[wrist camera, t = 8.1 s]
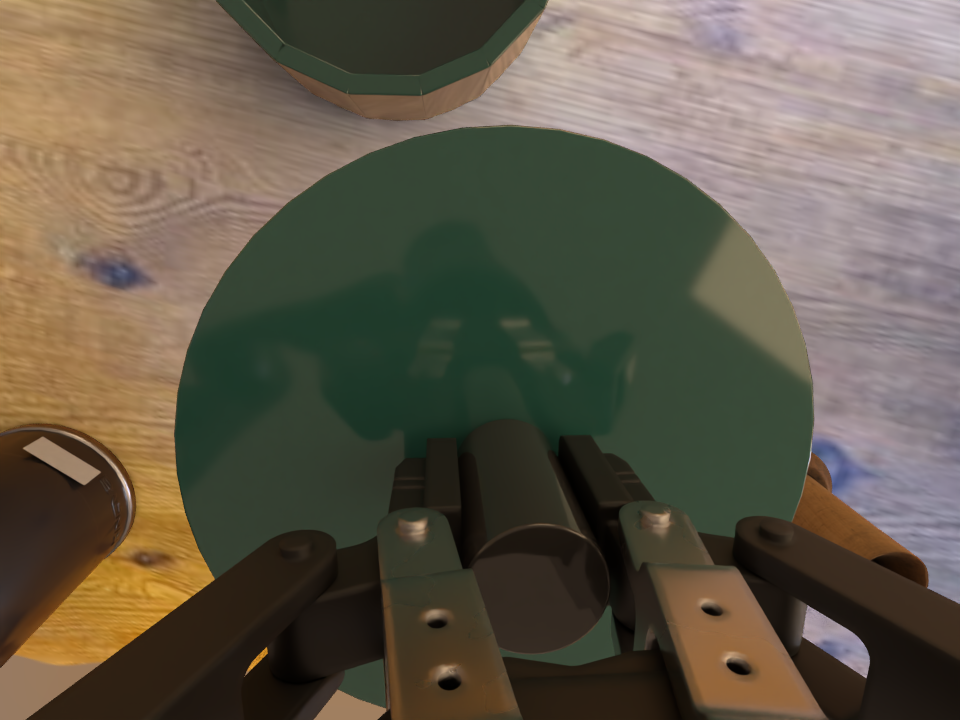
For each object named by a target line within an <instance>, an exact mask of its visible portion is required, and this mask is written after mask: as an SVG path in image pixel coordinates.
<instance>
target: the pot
mask: <svg viewBox="0 0 960 720" xmlns="http://www.w3.org/2000/svg"><path fill="white" fill-rule="evenodd" d="M216 2H217V3H218V4H219V5H220V6H221V7H222V8H223V9H224V10H225V11H226V12H227V13H228V14H229V15H230V16H231V17H232V18H233V19H234V20H235V21H236V22H237V23H238V24H239V25H240V26H241V27H242V28H243V29H244V30H245V31H246V32H247V33H248V34H249V36H250V37H251V38H252V39H253V40H254V41H255V42H256V43H257V44H258V45H259V46H260V47H261V48H262V49H263V50H264V51H265V52H266V53H267V54H268V55H269V56H270V57H271V58H272V59H273V60H274V61H275V62H276V63H278V64H279V65H280V66H281V67H282V68H283V69H284V70H286V71H287V72H288V73H289V74H290V75H291V76H292V77H294V78H295V79H296V80H297V81H298V82H299V83H300V84H302V85H303V86H304V87H305V88H306V89H307V90H308V91H310V92H311V93H312V94H314V95H316V96H318V97H320V98H323V99H325V100H327V101H329V102H331V103H333V104H335V105H337V106H339V107H341V108H343V109H346V110H348V111H351V112H354V113H356V114H358V115H360V116H362V117H365V118H368V119H383V120H394V121H403V120H426V119H429V118H432V117H434V116H437V115H440V114H443V113H446V112H449V111H452V110H454V109H456V108H458V107H460V106H462V105H464V104H466V103H468V102H469V101H472V100H474V99H476V98H478V97H479V96H481V95H482V94H483V93H484V92H485V91H486V90H487V89H488V88H489V87H490V86H491V85H492V84H493V83H494V82H495V81H496V80H497V79H498V78H499V77H500V76H501V75H502V74H503V72H504V71H505V70H506V69H507V68H508V67H509V66H510V65H511V63H512V62H513V61H514V60H515V59H516V58H517V57H518V56H519V55H520V54H521V52H522V51H523V49H524V47H525V45H526V43H527V41H528V40H529V38H530V36H531V34H532V32H533V30H534V28H535V26H536V25H537V23H538V21H539V19H540V17H541V15H542V13H543V12H544V10H545V8H546V5H547V3H548V0H216Z"/></svg>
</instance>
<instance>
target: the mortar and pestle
mask: <svg viewBox="0 0 960 720" xmlns="http://www.w3.org/2000/svg"><path fill="white" fill-rule="evenodd" d="M792 523H794V524H796V525H798V526H800V527H802V528H804V529H806V530H809V531H811V532H813V533H815V534H817V535H819V536H821V537H823V538H825V539H827V540H829V541H831V542H833V543H835V544H837V545H839V546H841V547H843V548H845V549H848V550H850V551H852V552H854V553H856V554H858V555H860V556H862V557H864V558H866V559H868V560H870V561H872V562H874V563H876V564H878V565H880V566H882V567H884V568H887V569H889V570H891V571H893V572H895V573H897V574H899V575H901V576H903V577H905V578H907V579H909V580H911V581H913V582H915V583H917V584H919V585H921V586H923V587H926V588H927V587H928V582H929V581H928V571H927V568H926V566H925V564H924V563H923V562H922V561H921V560H920V559H919V558H918V557H917V556H915V555H914V554H912V553H911V552H910V551H908V550H907V549H906V548H904V547H903V546H901V545H900V544H899V543H897V542H896V541H895V540H893V539H892V538H890V537H889V536H888V535H886V534H885V533H884V532H882V531H881V530H880V529H878V528H877V527H876V526H874V525H873V524H871V523H870V522H869V521H867V520H866V519H865V518H864V517H862V516H861V515H860V514H858V513H857V512H856V511H854V510H853V509H851V508H850V507H849V506H848V505H846V504H845V503H844V502H842V501H841V500H840V499H838V498H837V497H836V496H835V495H833V494H832V481H831V476H830V473H829V471H828V469H827V467H826V465H825V464H824V463H823V461H822V460H821V459H820V458H819V457H817V456H816V455H815V454H814V453H812V452H811V458H810V463H809V467H808V471H807V476H806V480H805V484H804V489H803V493H802V496H801V499H800V502H799V504H798V507H797V510H796V512H795V515H794V518H793V521H792Z"/></svg>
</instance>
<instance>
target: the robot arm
mask: <svg viewBox="0 0 960 720" xmlns="http://www.w3.org/2000/svg"><path fill="white" fill-rule="evenodd" d="M558 459H559V461H560V463H561V465H562V467H563V470H564V472H565V474H566V476H567V478H568V480H569V482H570V484H571V487H572V489H573V491H574V493H575V495H576V497H577V499H578V501H579V504H580V506H581V508H582V510H583V512H584V514H585V516H586V518H587V521H588V523H589V525H590V527H591V529H592V531H593V533H594V535H595V538H596V540H597V542H598V544H599V546H600V548H601V550H602V552H603V555H604V557H605V559H606V561H607V563H608V567H609V570H610V576H611V591H610V597H609V601H608V604H607V606H611V608H612V616H611V637H612V641H613V646H614V651H615V656H612V657H608V658H605V659H601V660H597V661H594V662H590V663H586V664H583V665H578V666H568V665H561V664H554V663H547V662H541V661H534V660H527V659H521V658H514V657H502V656H501V653H500V650H499V647H498V644H497V641H496V638H495V635H494V632H493V629H492V626H491V623H490V620H489V617H488V614H487V611H486V608H485V605H484V602H483V599H482V596H481V593H480V590H479V587H478V584H477V581H476V578H475V575H474V572H473V570H472V569H471V568H469V569H463V568H462V565H461V562H460V551H461V546H462V535H461V496H460V483H459V470H458V457H457V444H456V438H427V451H426V458H405V459H404V460H403V461H402V462H401V463H400V464H399V465H398V466H397V467H396V468H395V474H394V481H393V486H392V493H391V499H390V505H389V511H388V514H387V515H386V516H384V517H383V518H382V519H381V520H380V521H379V522H378V525H377V536H375V537H374V538H372V539H370V540H368V541H366V542H363V543H361V544H358V545H354V546H350V547H345V548H341V549H337V548H336V542H335V539H334V538H333V537H332V536H331V535H329V534H327V533H325V532H322V531H318V530H295V531H290V532H287V533H283V534H281V535H278V536H276V537H274V538H272V539H270V540H268V541H267V542H265V543H264V544H263V545H261V546H260V547H259V548H257V549H256V550H255V551H253V552H252V553H251V554H249V555H248V556H246V557H245V558H244V559H242V560H241V561H240V562H238V563H237V564H236V565H234V566H233V567H232V568H230V569H229V570H228V571H226V572H225V573H223V574H222V575H221V576H219V577H218V578H217V579H215V580H214V581H213V582H211V583H210V584H209V585H207V586H206V587H205V588H203V589H202V590H200V591H199V592H198V593H196V594H195V595H194V596H192V597H191V598H190V599H188V600H187V601H186V602H184V603H183V604H182V605H180V606H179V607H177V608H176V609H175V610H173V611H172V612H171V613H169V614H168V615H167V616H165V617H164V618H163V619H161V620H160V621H159V622H157V623H156V624H154V625H153V626H152V627H150V628H149V629H148V630H146V631H145V632H144V633H142V634H141V635H140V636H138V637H137V638H135V639H134V640H133V641H131V642H130V643H129V644H127V645H126V646H125V647H123V648H122V649H121V650H119V651H118V652H117V653H115V654H114V655H112V656H111V657H110V658H108V659H107V660H106V661H104V662H103V663H102V664H100V665H99V666H98V667H96V668H95V669H94V670H92V671H91V672H90V673H88V674H87V675H85V676H84V677H83V678H81V679H80V680H79V681H77V682H76V683H75V684H74V685H72V686H71V687H69V688H68V689H67V690H65V691H64V692H62V693H61V694H60V695H58V696H57V697H56V698H54V699H53V700H52V701H50V702H49V703H48V704H46V705H45V706H43V707H42V708H41V709H39V710H38V711H37V712H35V713H34V714H33V715H31V716H30V717H29V718H27V719H26V720H313V719H314V718H315V717H316V716H317V715H318V713H319V712H320V711H321V710H322V708H323V707H324V706H325V705H326V703H327V702H328V701H329V700H330V698H331V697H332V696H333V694H334V693H335V692H336V691H337V689H338V688H339V687H340V685H341V684H342V681H343V679H344V675H345V670H348V669H351V668H354V667H357V666H360V665H364V664H367V663H370V662H373V661H377V660H380V659H383V667H384V682H385V697H386V712H385V714H383V715H382V716H381V717H380V718H379V719H378V720H960V604H958V603H956V602H954V601H952V600H950V599H948V598H946V597H944V596H942V595H940V594H938V593H936V592H934V591H932V590H930V589H928V588H926V587H923V586H921V585H919V584H917V583H915V582H913V581H911V580H909V579H907V578H905V577H903V576H901V575H899V574H897V573H895V572H893V571H891V570H889V569H887V568H884V567H882V566H880V565H878V564H876V563H874V562H872V561H870V560H868V559H866V558H864V557H862V556H860V555H858V554H856V553H854V552H852V551H850V550H848V549H845V548H843V547H841V546H839V545H837V544H835V543H833V542H831V541H829V540H827V539H825V538H823V537H821V536H819V535H817V534H815V533H813V532H811V531H809V530H806V529H804V528H802V527H800V526H798V525H796V524H794V523H791V522H789V521H786V520H782V519H779V518H774V517H768V516H750V517H745V518H743V519H741V520H739V521H738V522H737V524H736V529H735V536H734V538H733V537H726V536H720V535H713V534H707V533H701V532H697V531H696V529H695V527H694V525H693V523H692V521H691V520H690V518H689V517H688V515H687V514H686V513H684V512H683V511H682V510H680V509H678V508H676V507H674V506H672V505H669V504H666V503H662V502H656V501H655V499H654V498H653V497H652V495H651V494H650V493H649V491H648V490H647V488H646V487H645V486H644V484H643V483H641V480H640V479H639V478H638V476H637V475H636V474H635V472H634V471H633V469H632V468H631V467H630V465H629V464H628V462H626V461H625V460H623V459H621V458H620V457H618V456H616V455H614V454H613V453H602V452H601V450H600V449H599V447H598V445H597V444H596V442H595V441H594V439H593V438H592V436H591V435H563V436H560V439H559V445H558ZM135 511H136V499H135V493H134V488H133V485H132V482H131V480H130V478H129V475H128V474H127V472H126V470H125V468H124V467H123V465H122V464H121V463H120V461H119V460H118V459H117V458H116V457H115V456H114V455H113V454H112V453H111V452H110V451H109V450H108V449H107V448H106V447H105V446H103V445H102V444H101V443H99V442H98V441H96V440H95V439H93V438H91V437H90V436H88V435H86V434H84V433H81V432H79V431H76V430H74V429H71V428H67V427H64V426H59V425H52V424H29V425H22V426H18V427H14V428H12V429H9V430H6V431H4V432H2V433H0V668H1V667H2V666H3V665H4V664H5V663H6V662H7V660H8V659H9V658H10V657H11V656H12V655H13V654H14V653H15V652H16V651H17V650H18V649H19V648H20V647H21V646H22V645H23V644H24V643H25V642H26V641H27V640H28V638H29V637H30V636H31V635H32V634H33V633H34V632H35V631H36V630H37V629H38V628H39V627H40V626H41V625H42V624H43V623H44V622H45V621H46V619H47V618H48V617H49V616H50V615H51V614H52V613H53V612H54V611H55V610H56V609H57V608H58V607H59V606H60V605H61V604H62V603H63V602H64V600H65V599H66V598H67V597H68V596H69V595H70V594H71V593H72V592H73V591H74V590H75V589H76V588H77V587H78V586H79V585H80V584H81V583H82V582H83V581H84V580H85V579H86V577H87V576H88V575H89V574H90V573H91V572H92V571H93V570H94V569H95V568H96V567H97V566H98V565H99V564H100V563H101V562H102V561H103V560H104V559H105V558H106V557H108V556H109V555H110V554H111V553H112V552H113V551H115V549H116V548H117V547H118V546H119V545H120V544H121V543H122V542H123V541H124V539H125V538H126V536H127V535H128V533H129V531H130V529H131V527H132V524H133V522H134V518H135ZM807 605H808V606H810V607H812V608H813V609H815V610H817V611H818V612H820V613H822V614H823V615H825V616H827V617H828V618H830V619H832V620H833V621H835V622H837V623H838V624H840V625H842V626H843V627H845V628H847V629H848V630H850V631H851V632H853V633H854V634H855V635H857V636H858V637H859V638H860V639H861V641H862V642H863V643H864V645H865V647H866V648H867V650H868V653H869V656H870V666H869V670H868V675H867V679H866V678H865V677H863V676H862V675H860V674H859V673H857V672H856V671H854V670H853V669H851V668H849V667H848V666H846V665H845V664H843V663H842V662H840V661H839V660H837V659H836V658H834V657H833V656H831V655H830V654H828V653H826V652H825V651H823V650H822V649H820V648H819V647H817V646H816V645H814V644H813V643H811V642H810V641H808V640H807V639H805V638H803V637H802V633H803V627H804V621H805V615H806V610H807ZM266 647H267V650H268V654H267V655H266V656H265V657H264V658H263V659H262V660H261V661H260V662H259V663H258V664H257V665H256V666H255V667H254V668H253V669H252V670H251V671H250V672H249V673H248V674H247V675H246V676H245V674H246V671H247V669H248V667H249V666H250V664H251V663H252V661H253V660H254V659H255V658H256V657H257V656H258V655H259V654H260V653H261V652H262V651H263V650H264V649H265V648H266ZM244 676H245V677H244Z"/></svg>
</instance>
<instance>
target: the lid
mask: <svg viewBox="0 0 960 720" xmlns="http://www.w3.org/2000/svg"><path fill="white" fill-rule="evenodd" d="M813 427H814V406H813V382H812V377H811V371H810V366H809V360H808V355H807V349H806V344H805V341H804V338H803V335H802V332H801V329H800V326H799V323H798V320H797V317H796V314H795V311H794V308H793V306H792V304H791V302H790V300H789V298H788V296H787V294H786V292H785V290H784V288H783V286H782V284H781V282H780V280H779V278H778V276H777V274H776V272H775V270H774V269H773V267H772V266H771V265H770V263H769V262H768V260H767V259H766V257H765V256H764V255H763V253H762V252H761V250H760V249H759V248H758V246H757V245H756V243H755V242H754V240H753V239H752V238H751V236H750V235H749V234H748V233H747V232H746V231H745V230H744V229H743V228H742V227H741V226H740V225H739V224H738V223H737V222H736V220H735V219H734V218H733V217H732V216H731V215H730V214H729V213H728V212H727V211H726V210H725V209H724V208H723V207H722V206H721V205H720V204H719V203H717V202H716V201H715V200H714V199H712V198H711V197H710V196H708V195H707V194H706V193H705V192H703V191H702V190H701V189H699V188H698V187H697V186H696V185H694V184H693V183H692V182H690V181H689V180H688V179H687V178H685V177H683V176H681V175H680V174H678V173H676V172H674V171H673V170H671V169H669V168H667V167H665V166H664V165H662V164H660V163H658V162H657V161H655V160H653V159H651V158H650V157H648V156H645V155H643V154H640V153H638V152H635V151H633V150H630V149H627V148H625V147H622V146H620V145H617V144H614V143H612V142H609V141H607V140H604V139H600V138H595V137H591V136H587V135H582V134H578V133H574V132H569V131H565V130H561V129H553V128H541V127H529V126H517V125H501V126H483V127H466V128H458V129H453V130H448V131H443V132H438V133H433V134H428V135H423V136H418V137H414V138H411V139H408V140H405V141H403V142H400V143H397V144H394V145H391V146H388V147H385V148H383V149H380V150H377V151H374V152H371V153H369V154H367V155H365V156H363V157H361V158H359V159H357V160H355V161H353V162H351V163H349V164H347V165H345V166H343V167H342V168H340V169H338V170H336V171H334V172H332V173H330V174H328V175H326V176H325V177H323V178H322V179H320V180H319V181H318V182H316V183H315V184H313V185H312V186H311V187H309V188H308V189H306V190H305V191H304V192H302V193H301V194H299V195H298V196H297V197H295V198H294V199H292V200H291V201H290V202H288V203H287V204H286V205H285V206H284V207H283V208H282V209H281V210H280V211H279V212H277V213H276V214H275V215H274V216H273V217H272V218H271V219H270V220H269V221H268V222H267V223H266V224H265V225H264V226H263V227H262V228H261V229H260V230H259V231H258V232H256V233H255V234H254V235H253V237H252V238H251V239H250V240H249V242H248V243H247V244H246V246H245V247H244V248H243V249H242V251H241V252H240V253H239V254H238V256H237V257H236V258H235V260H234V261H233V262H232V263H231V265H230V266H229V267H228V268H227V270H226V271H225V273H224V274H223V276H222V278H221V280H220V281H219V283H218V285H217V287H216V288H215V290H214V292H213V293H212V295H211V297H210V299H209V300H208V302H207V304H206V306H205V307H204V309H203V311H202V314H201V316H200V319H199V322H198V324H197V327H196V329H195V332H194V334H193V337H192V339H191V342H190V344H189V347H188V350H187V353H186V357H185V362H184V366H183V370H182V375H181V379H180V383H179V388H178V392H177V405H176V417H175V430H174V438H175V453H176V467H177V477H178V481H179V486H180V491H181V495H182V500H183V504H184V509H185V513H186V516H187V519H188V521H189V524H190V527H191V530H192V532H193V535H194V538H195V540H196V543H197V546H198V548H199V551H200V552H201V554H202V556H203V558H204V560H205V562H206V563H207V565H208V567H209V569H210V571H211V573H212V575H213V576H214V578H215V579H217V578H218V577H219V576H221V575H222V574H223V573H225V572H226V571H228V570H229V569H230V568H232V567H233V566H234V565H236V564H237V563H238V562H240V561H241V560H242V559H244V558H245V557H246V556H248V555H249V554H251V553H252V552H253V551H255V550H256V549H257V548H259V547H260V546H261V545H263V544H264V543H265V542H267V541H268V540H270V539H272V538H274V537H276V536H278V535H281V534H283V533H287V532H290V531H295V530H318V531H322V532H325V533H327V534H329V535H331V536H332V537H333V538H334V539H335V542H336V548H337V549H341V548H345V547H350V546H354V545H358V544H361V543H363V542H366V541H368V540H370V539H372V538H374V537H375V536H377V525H378V522H379V521H380V520H381V519H382V518H383V517H384V516H386V515H387V514H388V511H389V505H390V499H391V493H392V486H393V481H394V474H395V468H396V467H397V466H398V465H399V464H400V463H401V462H402V461H403V460H404V459H405V458H426V451H427V438H456V444H457V457H458V470H459V483H460V496H461V535H462V546H461V551H460V562H461V565H462V568H463V569H469V568H471V569H472V570H473V572H474V575H475V578H476V581H477V584H478V587H479V590H480V593H481V596H482V599H483V602H484V605H485V608H486V611H487V614H488V617H489V620H490V623H491V626H492V629H493V632H494V635H495V638H496V641H497V644H498V647H499V650H500V653H501V656H502V657H514V658H521V659H527V660H534V661H541V662H547V663H554V664H561V665H568V666H578V665H583V664H586V663H590V662H594V661H597V660H601V659H605V658H608V657H612V656H615V651H614V646H613V641H612V637H611V616H612V608H611V606H607V604H608V601H609V597H610V591H611V576H610V570H609V567H608V563H607V561H606V559H605V557H604V555H603V552H602V550H601V548H600V546H599V544H598V542H597V540H596V538H595V535H594V533H593V531H592V529H591V527H590V525H589V523H588V521H587V518H586V516H585V514H584V512H583V510H582V508H581V506H580V504H579V501H578V499H577V497H576V495H575V493H574V491H573V489H572V487H571V484H570V482H569V480H568V478H567V476H566V474H565V472H564V470H563V467H562V465H561V463H560V461H559V459H558V445H559V439H560V436H563V435H591V436H592V438H593V439H594V441H595V442H596V444H597V445H598V447H599V449H600V450H601V452H602V453H613V454H614V455H616V456H618V457H620V458H621V459H623V460H625V461H626V462H628V464H629V465H630V467H631V468H632V469H633V471H634V472H635V474H636V475H637V476H638V478H639V479H640V480H641V483H643V484H644V486H645V487H646V488H647V490H648V491H649V493H650V494H651V495H652V497H653V498H654V499H655V501H656V502H662V503H666V504H669V505H672V506H674V507H676V508H678V509H680V510H682V511H683V512H684V513H686V514H687V515H688V517H689V518H690V520H691V521H692V523H693V525H694V527H695V529H696V531H697V532H701V533H707V534H713V535H720V536H726V537H733V538H734V536H735V529H736V524H737V522H738V521H739V520H741V519H743V518H745V517H750V516H768V517H774V518H779V519H782V520H786V521H789V522H791V523H792V521H793V518H794V515H795V512H796V510H797V507H798V504H799V502H800V499H801V496H802V493H803V489H804V484H805V480H806V476H807V471H808V467H809V463H810V458H811V448H812V437H813ZM338 690H340V691H342V692H344V693H346V694H349V695H351V696H353V697H355V698H357V699H360V700H363V701H366V702H369V703H371V704H374V705H378V706H380V707H383V708H386V697H385V682H384V667H383V659H380V660H377V661H373V662H370V663H367V664H364V665H360V666H357V667H354V668H351V669H348V670H345V675H344V679H343V681H342V684H341V685H340V687H339V688H338Z"/></svg>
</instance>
